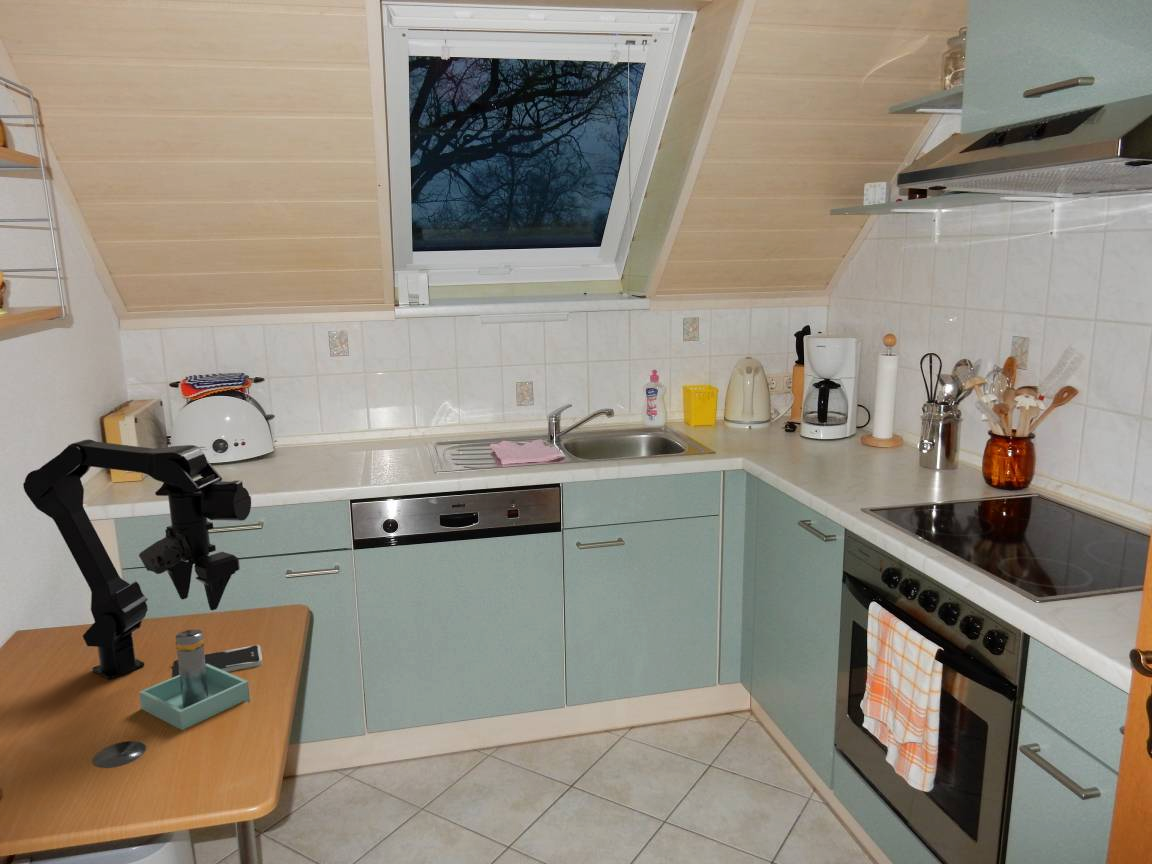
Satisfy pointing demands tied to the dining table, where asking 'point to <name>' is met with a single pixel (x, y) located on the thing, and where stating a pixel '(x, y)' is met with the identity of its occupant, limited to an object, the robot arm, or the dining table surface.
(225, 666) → the smartphone
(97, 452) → the robot arm
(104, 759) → the dark metal disc
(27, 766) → the dining table surface
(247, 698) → the bin
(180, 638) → the strut
